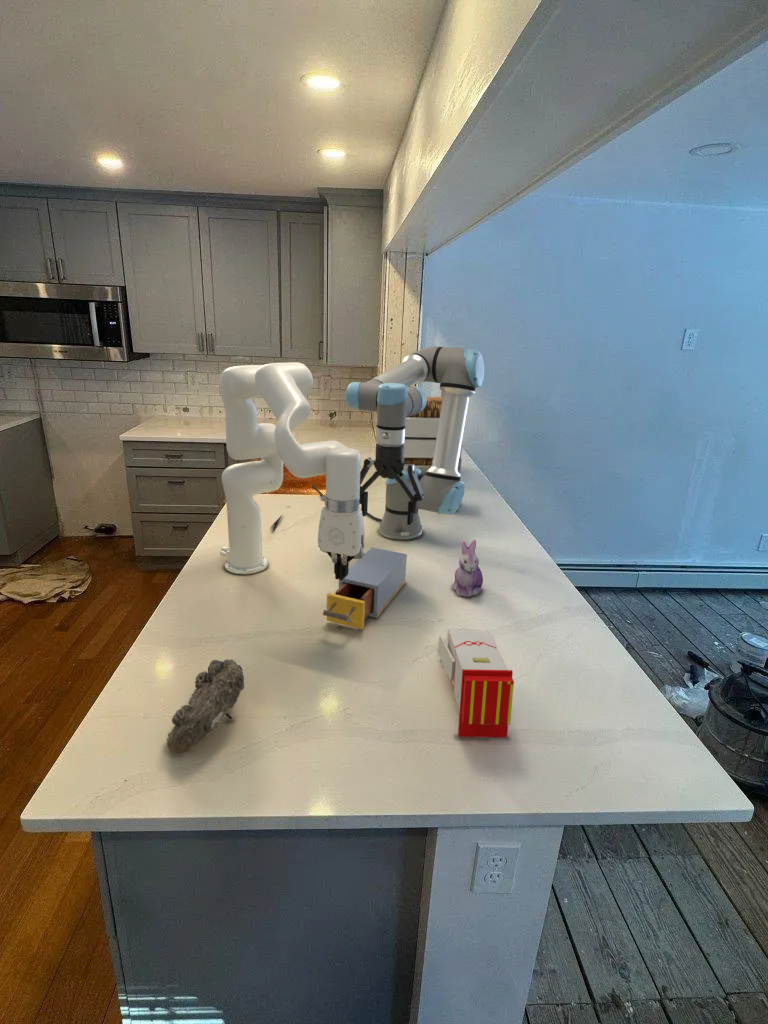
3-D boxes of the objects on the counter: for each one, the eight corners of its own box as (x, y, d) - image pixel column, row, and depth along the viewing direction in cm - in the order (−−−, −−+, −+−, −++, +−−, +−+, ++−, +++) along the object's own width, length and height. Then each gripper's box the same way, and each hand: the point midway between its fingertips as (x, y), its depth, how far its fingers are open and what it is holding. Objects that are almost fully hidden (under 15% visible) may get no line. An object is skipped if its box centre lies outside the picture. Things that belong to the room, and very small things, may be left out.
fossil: (192, 660, 117) (244, 628, 112) (224, 691, 120) (276, 661, 115) (142, 746, 98) (202, 712, 93) (182, 779, 101) (242, 748, 96)
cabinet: (376, 618, 145) (378, 586, 142) (338, 608, 149) (338, 577, 146) (405, 583, 164) (406, 554, 161) (370, 575, 168) (371, 547, 165)
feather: (289, 509, 222) (291, 505, 221) (271, 533, 195) (274, 529, 195) (285, 506, 222) (288, 503, 221) (267, 531, 195) (270, 526, 195)
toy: (488, 613, 130) (523, 677, 101) (484, 667, 133) (517, 744, 104) (435, 612, 130) (455, 676, 101) (432, 666, 133) (451, 743, 103)
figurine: (464, 601, 155) (469, 550, 150) (443, 585, 164) (448, 537, 159) (492, 594, 159) (497, 545, 154) (470, 579, 168) (475, 532, 163)
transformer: (382, 463, 289) (386, 382, 275) (445, 464, 293) (451, 384, 279) (390, 482, 257) (394, 392, 243) (460, 483, 261) (468, 394, 247)
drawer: (352, 640, 133) (353, 614, 131) (316, 631, 136) (316, 605, 134) (392, 593, 156) (393, 569, 154) (359, 586, 159) (360, 562, 157)
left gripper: (304, 503, 126) (305, 577, 132) (366, 514, 121) (364, 590, 127) (320, 493, 132) (320, 565, 139) (379, 504, 127) (376, 577, 134)
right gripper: (341, 440, 150) (340, 515, 157) (431, 452, 142) (425, 531, 149) (352, 435, 157) (351, 507, 164) (439, 446, 148) (434, 522, 156)
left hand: (341, 577), depth 133 cm, fingers closed
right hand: (386, 519), depth 156 cm, fingers open, 13 cm apart
